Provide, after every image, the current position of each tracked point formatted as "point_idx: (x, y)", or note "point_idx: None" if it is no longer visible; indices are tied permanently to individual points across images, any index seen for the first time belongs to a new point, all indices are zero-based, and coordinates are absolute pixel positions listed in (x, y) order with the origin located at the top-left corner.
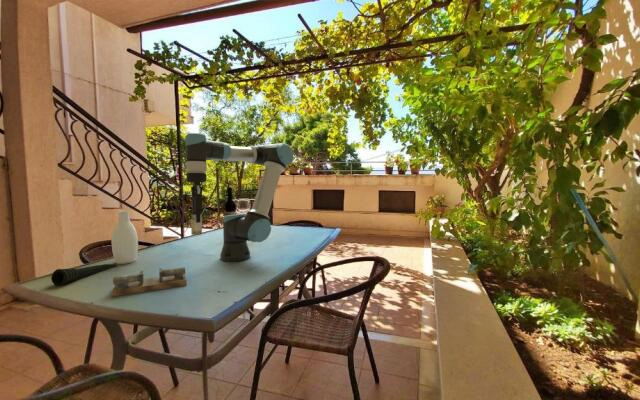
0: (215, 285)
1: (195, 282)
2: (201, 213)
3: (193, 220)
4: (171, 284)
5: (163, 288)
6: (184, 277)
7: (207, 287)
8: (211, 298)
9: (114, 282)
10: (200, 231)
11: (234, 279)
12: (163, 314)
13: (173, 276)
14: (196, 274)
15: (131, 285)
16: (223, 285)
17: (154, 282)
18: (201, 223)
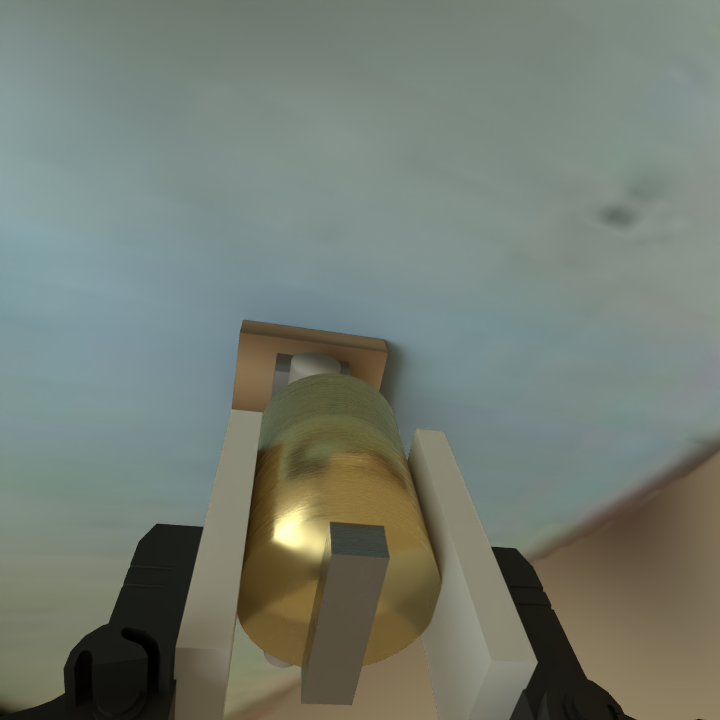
0: (507, 198)
1: (367, 285)
2: (612, 699)
3: (395, 644)
4: None
5: None
6: (325, 350)
7: (505, 251)
8: (671, 284)
9: None
10: (395, 425)
11: (490, 27)
12: (658, 477)
13: (263, 398)
14: (195, 233)
15: None
16: (545, 153)
17: None
18: (473, 505)
